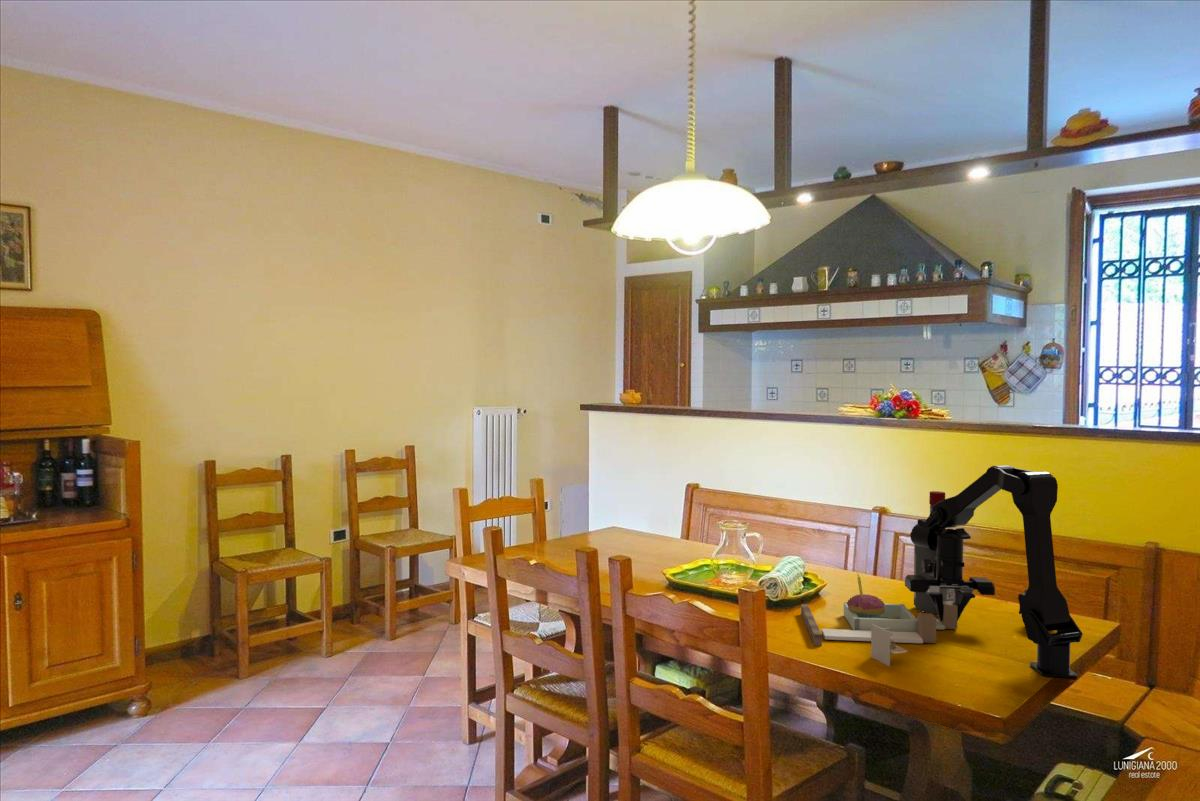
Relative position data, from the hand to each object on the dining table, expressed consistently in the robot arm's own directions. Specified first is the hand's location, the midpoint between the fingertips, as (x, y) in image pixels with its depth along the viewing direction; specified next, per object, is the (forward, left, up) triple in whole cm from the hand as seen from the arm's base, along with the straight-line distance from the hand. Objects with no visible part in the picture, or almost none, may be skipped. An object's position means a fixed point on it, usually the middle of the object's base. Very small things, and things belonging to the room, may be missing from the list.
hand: (948, 620), depth 183 cm
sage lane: (0, +11, -1) cm, 11 cm away
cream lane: (-11, +18, -1) cm, 21 cm away
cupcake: (0, +19, -2) cm, 19 cm away
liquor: (+14, -1, -2) cm, 14 cm away
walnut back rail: (-5, +32, -2) cm, 33 cm away
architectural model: (-24, +20, -2) cm, 31 cm away
